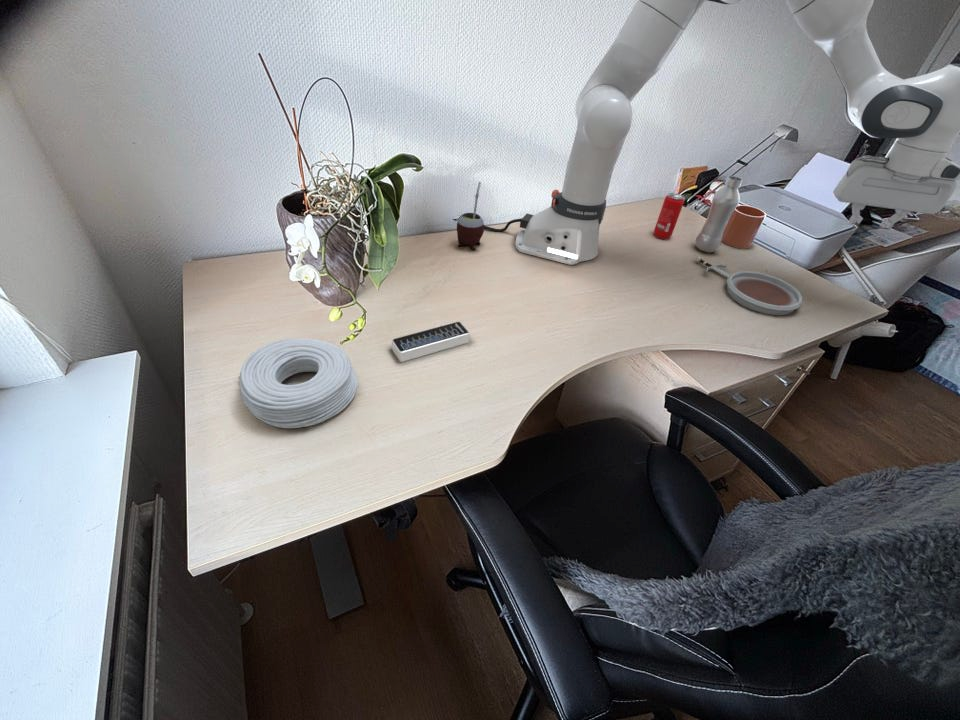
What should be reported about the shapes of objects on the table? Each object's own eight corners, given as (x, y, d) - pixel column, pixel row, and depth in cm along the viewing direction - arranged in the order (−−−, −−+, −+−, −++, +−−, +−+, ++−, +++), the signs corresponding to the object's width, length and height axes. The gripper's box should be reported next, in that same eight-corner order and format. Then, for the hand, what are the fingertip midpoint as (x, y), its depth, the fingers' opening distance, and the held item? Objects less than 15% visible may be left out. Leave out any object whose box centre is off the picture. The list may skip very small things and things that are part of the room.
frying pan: (718, 247, 126) (819, 296, 108) (714, 257, 128) (812, 306, 110) (677, 259, 119) (778, 313, 101) (673, 269, 120) (772, 324, 103)
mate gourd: (461, 253, 117) (465, 195, 108) (450, 239, 123) (453, 183, 113) (488, 249, 120) (493, 193, 110) (476, 236, 125) (480, 181, 116)
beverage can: (649, 232, 136) (662, 192, 128) (663, 231, 137) (678, 192, 130) (659, 240, 132) (673, 199, 125) (674, 239, 134) (689, 199, 126)
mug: (754, 242, 136) (769, 211, 130) (745, 251, 131) (761, 219, 125) (716, 229, 142) (729, 199, 136) (706, 237, 137) (719, 206, 130)
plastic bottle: (702, 255, 127) (733, 183, 114) (688, 244, 132) (716, 174, 119) (721, 254, 128) (754, 182, 115) (706, 243, 133) (736, 173, 120)
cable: (236, 376, 78) (226, 349, 74) (337, 347, 85) (333, 321, 81) (259, 448, 67) (248, 421, 63) (372, 408, 74) (369, 381, 70)
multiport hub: (391, 348, 86) (390, 339, 85) (459, 330, 92) (459, 320, 91) (400, 362, 83) (399, 352, 82) (469, 342, 90) (470, 332, 88)
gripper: (863, 158, 90) (824, 224, 99) (975, 172, 88) (925, 239, 97) (850, 149, 95) (814, 213, 104) (956, 163, 93) (909, 227, 102)
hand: (868, 226), depth 101 cm, fingers open, 5 cm apart
